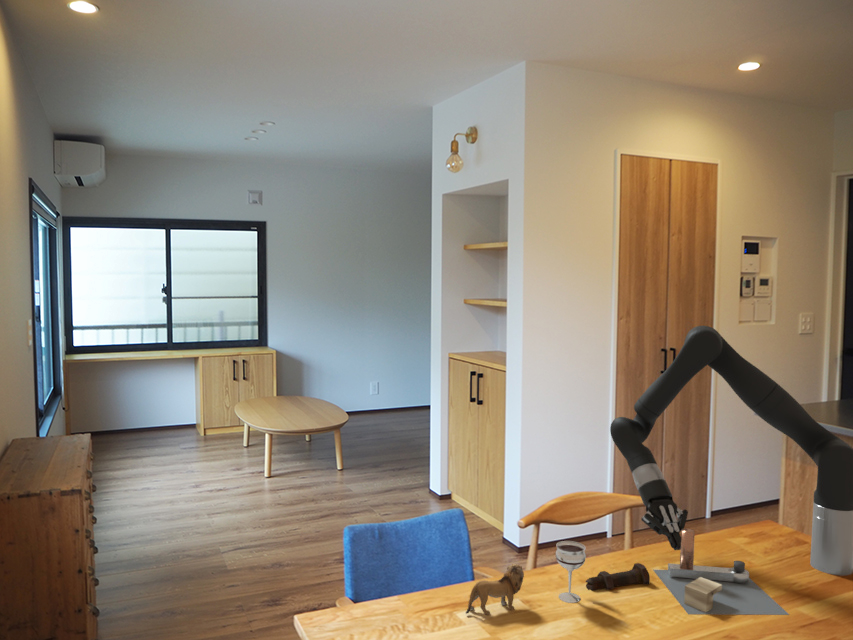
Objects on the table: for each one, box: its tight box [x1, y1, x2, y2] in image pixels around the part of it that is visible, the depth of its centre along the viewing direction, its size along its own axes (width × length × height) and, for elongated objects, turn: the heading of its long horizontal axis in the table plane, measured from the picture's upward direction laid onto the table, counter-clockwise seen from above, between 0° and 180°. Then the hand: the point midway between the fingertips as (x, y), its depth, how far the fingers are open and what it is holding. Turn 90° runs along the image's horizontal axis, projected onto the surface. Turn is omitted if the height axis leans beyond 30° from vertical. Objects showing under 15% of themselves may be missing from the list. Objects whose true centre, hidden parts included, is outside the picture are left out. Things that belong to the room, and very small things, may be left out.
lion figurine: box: [465, 563, 525, 616], centre depth 150 cm, size 15×5×9 cm, turn 118°
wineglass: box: [555, 540, 587, 604], centre depth 155 cm, size 7×7×12 cm
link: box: [667, 528, 750, 584], centre depth 163 cm, size 18×4×11 cm, turn 81°
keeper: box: [684, 577, 722, 612], centre depth 151 cm, size 7×5×4 cm
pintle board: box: [653, 560, 790, 616], centre depth 157 cm, size 22×22×6 cm
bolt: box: [585, 562, 651, 591], centre depth 160 cm, size 6×5×15 cm
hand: (679, 548), depth 167 cm, fingers closed
